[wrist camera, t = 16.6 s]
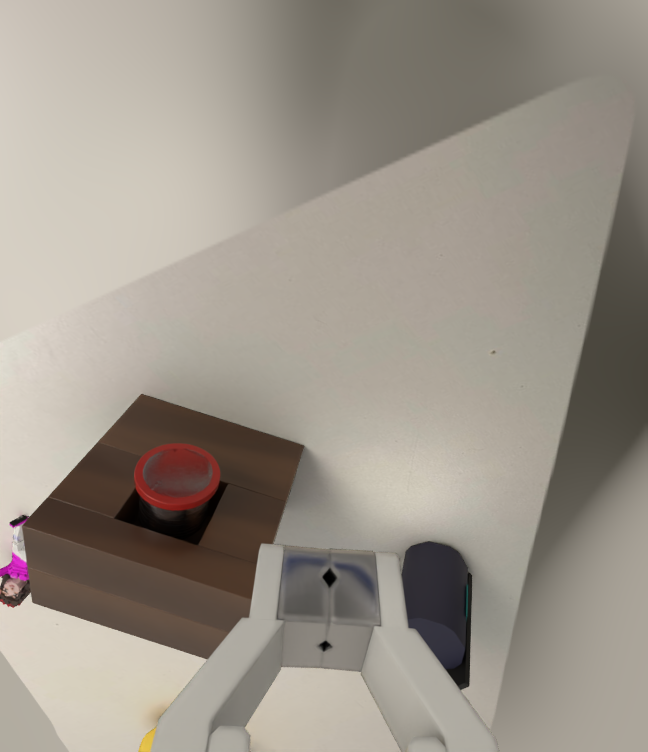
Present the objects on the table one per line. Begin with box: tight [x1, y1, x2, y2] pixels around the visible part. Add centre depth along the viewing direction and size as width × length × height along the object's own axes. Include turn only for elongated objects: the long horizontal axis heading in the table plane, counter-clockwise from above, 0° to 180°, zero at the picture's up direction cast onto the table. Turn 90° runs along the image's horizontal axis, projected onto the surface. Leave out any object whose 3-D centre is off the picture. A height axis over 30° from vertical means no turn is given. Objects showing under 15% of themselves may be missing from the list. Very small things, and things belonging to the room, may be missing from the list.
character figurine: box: [0, 515, 31, 608], centre depth 52 cm, size 6×5×12 cm
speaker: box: [402, 542, 472, 690], centre depth 40 cm, size 8×6×10 cm
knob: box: [134, 443, 220, 540], centre depth 31 cm, size 4×5×5 cm
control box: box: [22, 394, 304, 659], centre depth 35 cm, size 8×14×14 cm, turn 75°
